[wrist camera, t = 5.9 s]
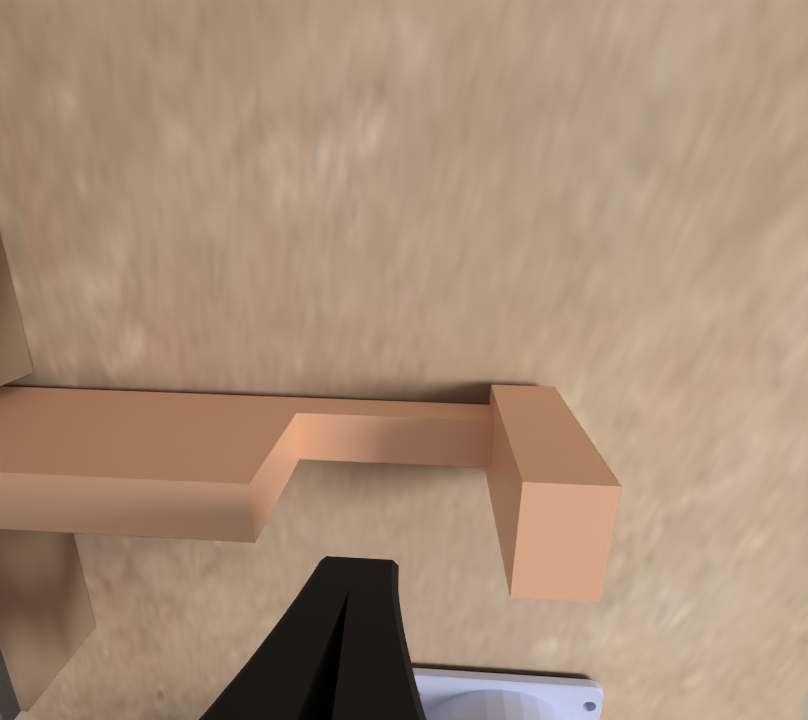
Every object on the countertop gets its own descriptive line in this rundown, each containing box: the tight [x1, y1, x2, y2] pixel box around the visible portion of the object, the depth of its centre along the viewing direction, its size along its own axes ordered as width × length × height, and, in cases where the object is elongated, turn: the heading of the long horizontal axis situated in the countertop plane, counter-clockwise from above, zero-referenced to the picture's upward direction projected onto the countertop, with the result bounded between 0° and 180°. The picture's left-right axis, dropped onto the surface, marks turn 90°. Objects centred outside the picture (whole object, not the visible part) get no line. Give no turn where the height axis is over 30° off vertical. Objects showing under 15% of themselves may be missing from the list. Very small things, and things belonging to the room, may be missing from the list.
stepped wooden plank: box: [0, 385, 622, 603], centre depth 13 cm, size 3×23×6 cm, turn 89°
